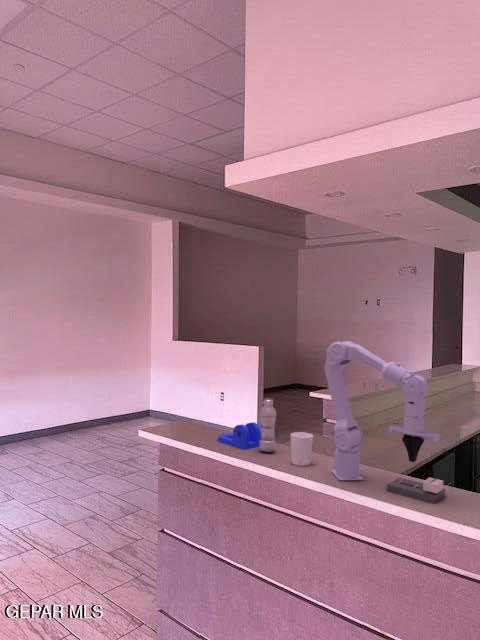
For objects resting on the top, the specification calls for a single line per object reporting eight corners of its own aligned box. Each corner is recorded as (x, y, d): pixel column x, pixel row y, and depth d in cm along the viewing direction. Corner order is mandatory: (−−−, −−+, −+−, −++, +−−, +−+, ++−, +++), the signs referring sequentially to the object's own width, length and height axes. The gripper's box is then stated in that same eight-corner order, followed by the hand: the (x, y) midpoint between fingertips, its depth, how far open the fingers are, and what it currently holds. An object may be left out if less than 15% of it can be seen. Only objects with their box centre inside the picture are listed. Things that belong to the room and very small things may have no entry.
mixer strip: (386, 490, 148) (386, 484, 148) (399, 483, 154) (399, 477, 154) (433, 503, 138) (434, 496, 138) (444, 495, 145) (445, 488, 145)
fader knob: (422, 489, 142) (423, 481, 142) (429, 485, 146) (429, 477, 146) (436, 493, 140) (437, 484, 140) (443, 489, 144) (443, 480, 143)
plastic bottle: (275, 449, 189) (277, 398, 189) (275, 454, 183) (276, 401, 182) (259, 448, 190) (260, 397, 190) (257, 453, 183) (259, 400, 183)
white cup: (285, 461, 175) (286, 433, 175) (303, 458, 179) (304, 431, 179) (298, 467, 168) (298, 438, 168) (316, 464, 172) (317, 436, 172)
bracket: (259, 446, 194) (260, 423, 194) (245, 450, 188) (245, 426, 188) (228, 437, 207) (229, 416, 207) (213, 440, 201) (214, 419, 201)
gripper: (443, 417, 145) (442, 463, 145) (396, 410, 155) (395, 453, 155) (435, 421, 140) (433, 468, 140) (386, 413, 149) (385, 457, 149)
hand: (412, 461), depth 147 cm, fingers closed
